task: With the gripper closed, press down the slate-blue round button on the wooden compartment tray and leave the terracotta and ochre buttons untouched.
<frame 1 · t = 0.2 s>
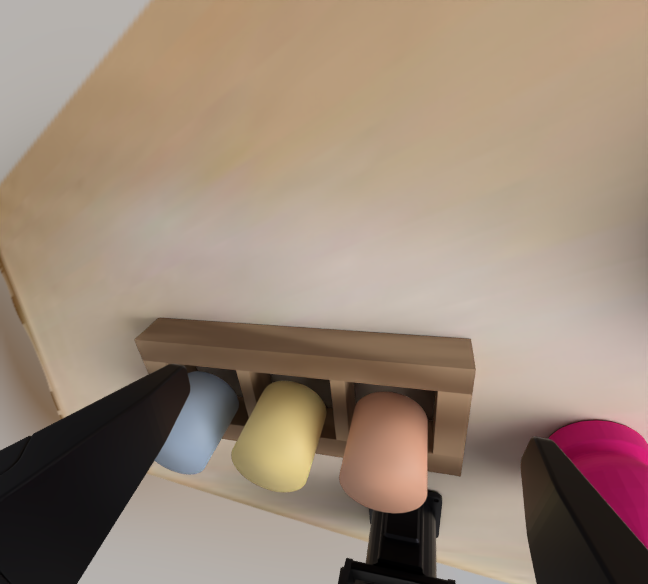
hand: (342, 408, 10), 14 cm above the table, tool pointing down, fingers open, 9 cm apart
button terracotta: (386, 449, 23), point 6 cm above the table, slide at 0.0 cm
pepper mill: (591, 447, 26), on the table
wooden compartment tray: (305, 378, 30), on the table
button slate: (192, 420, 27), point 6 cm above the table, slide at 0.0 cm
button ochre: (282, 434, 25), point 6 cm above the table, slide at 0.0 cm
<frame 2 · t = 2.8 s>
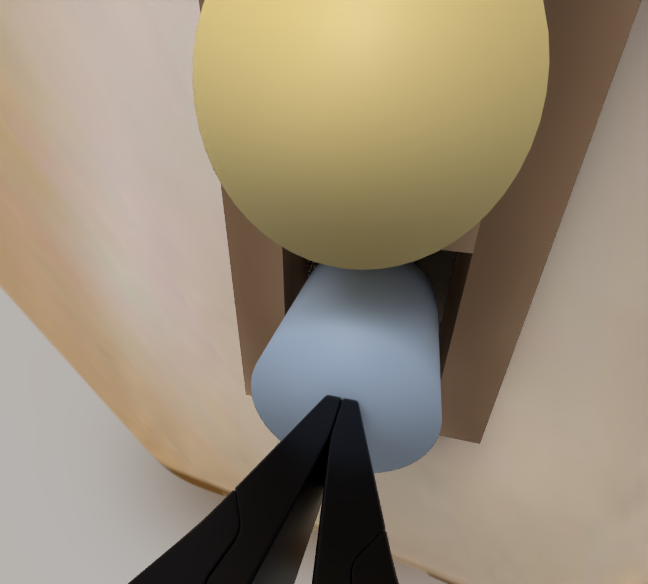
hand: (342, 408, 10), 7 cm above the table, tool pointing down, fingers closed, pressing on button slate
wooden compartment tray: (395, 93, 12), on the table
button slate: (356, 350, 12), point 5 cm above the table, slide at 0.8 cm, touching gripper
button ochre: (373, 103, 7), point 5 cm above the table, slide at 0.0 cm
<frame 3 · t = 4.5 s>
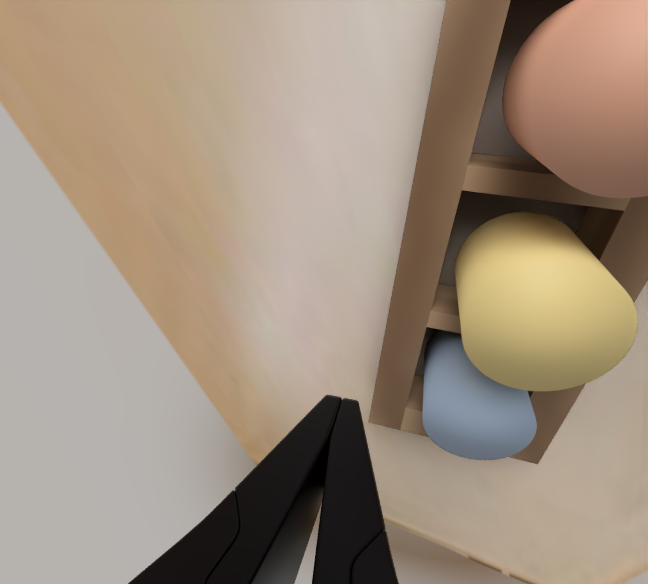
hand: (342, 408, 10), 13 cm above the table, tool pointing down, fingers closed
button terracotta: (613, 86, 10), point 5 cm above the table, slide at 0.0 cm
wooden compartment tray: (503, 241, 19), on the table
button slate: (472, 387, 19), point 3 cm above the table, slide at 2.2 cm
button ochre: (527, 295, 14), point 5 cm above the table, slide at 0.0 cm
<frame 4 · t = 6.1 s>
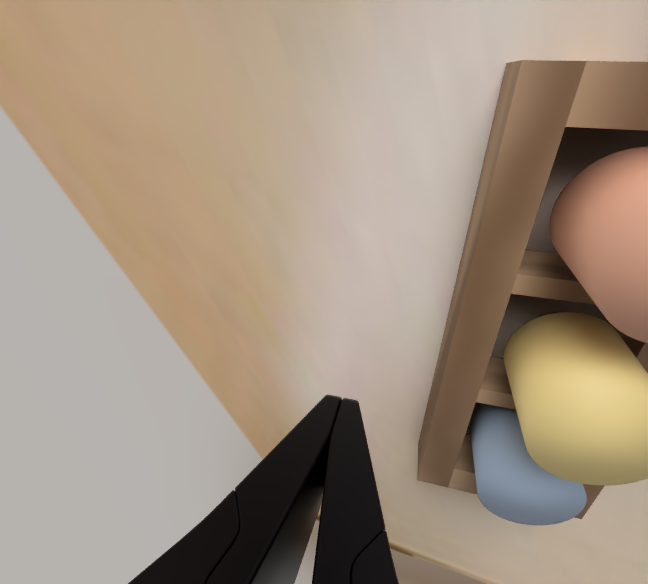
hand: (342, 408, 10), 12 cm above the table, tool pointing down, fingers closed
wooden compartment tray: (544, 321, 20), on the table
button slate: (519, 454, 21), point 3 cm above the table, slide at 2.2 cm
button ochre: (577, 393, 16), point 5 cm above the table, slide at 0.0 cm
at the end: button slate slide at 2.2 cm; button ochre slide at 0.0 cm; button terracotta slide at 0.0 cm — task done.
